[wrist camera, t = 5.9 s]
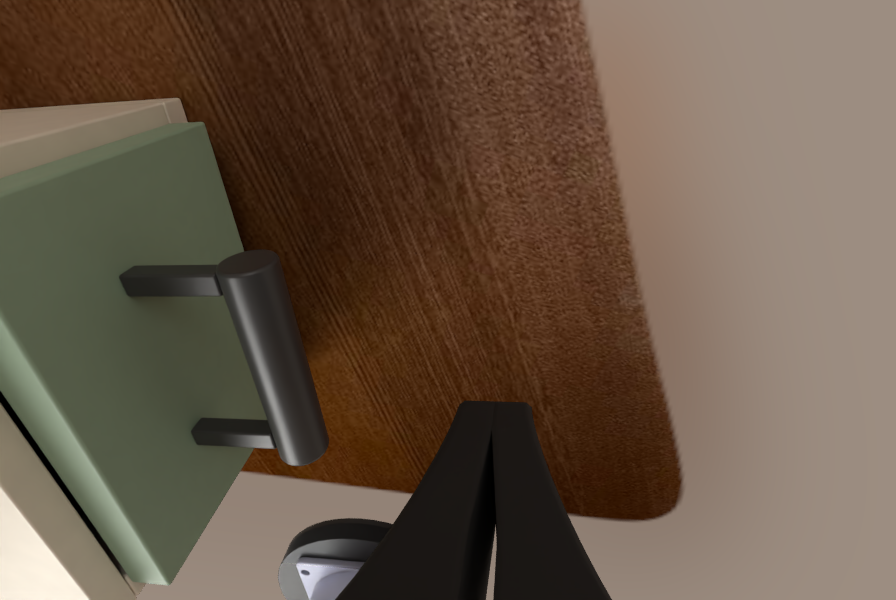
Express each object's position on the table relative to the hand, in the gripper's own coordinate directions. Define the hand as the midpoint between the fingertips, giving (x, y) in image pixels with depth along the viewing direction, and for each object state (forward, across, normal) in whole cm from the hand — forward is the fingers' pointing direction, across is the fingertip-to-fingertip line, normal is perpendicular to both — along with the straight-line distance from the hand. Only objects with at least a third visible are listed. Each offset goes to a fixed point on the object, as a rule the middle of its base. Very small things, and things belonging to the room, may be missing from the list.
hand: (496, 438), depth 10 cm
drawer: (+7, +13, 0) cm, 15 cm away
